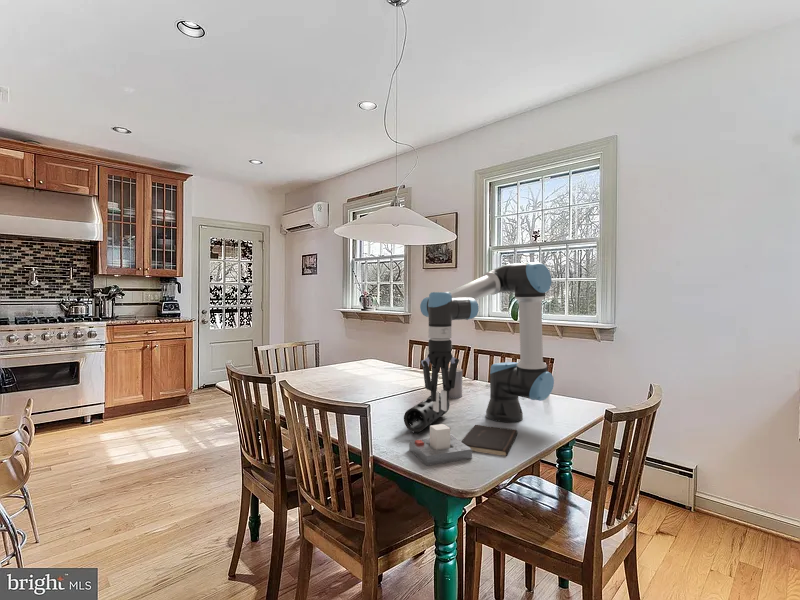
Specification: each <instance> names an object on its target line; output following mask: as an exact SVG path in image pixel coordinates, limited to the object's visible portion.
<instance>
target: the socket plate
mask: <svg viewBox="0 0 800 600" xmlns="http://www.w3.org/2000/svg"><path fill="white" fill-rule="evenodd" d="M461 441H462V440H461ZM461 441H460V440H459V439H458V438H456V437H455V436H453V435H451V434H450V448H446V449H440V450H434V449H433V448H432V447H430V437H429V438H424V439H423V438H422V439H415V440H409V442H408V447H409V448H408V450H409V451H410V453H412V454H413V455H414V456H415V457H416V458H417V459H419V461H421V462H422V464H424V465H425V466H426V467H427V466H428V467H429V466H434V465H440V464H447V463H451V462H459V461H463V460H464V461H465V460H469V459H473V451H472V449H471V448H470V447H468V446H467V445H465V444H464V443H462V442H461Z"/></svg>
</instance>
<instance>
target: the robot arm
mask: <svg viewBox="0 0 800 600" xmlns="http://www.w3.org/2000/svg"><path fill="white" fill-rule="evenodd" d="M551 275H552V274H551V271H550V270H549V268H548V267H547V266H546V265H545V264H544V263H541V262H533V261H530V262H522V263H521V262H520V263H518V262H517V263H508V264H503V265H501V266H499V267H496V268H494V269H491V270H489V271H486V272H484V273H483V274H482V276H481V277H478V278H476V279H475V280H472V281H469V282H467V283H465V284H462V285H460V286H458V287H455V288H452V289H451V290H448V291H440V292H439V291H432V292H430V293H429V294H428V296H427V297H426V296H425V297H423V299H422V300H421V302H420V304H419V308H420V309H419V310H420V312H421V315H423V316H424V317H427V318H428V338H429V340H428V353H427V357H426V358H424V359H421V360H420V361H419V363H420V365H421V367H422V373H423V379H424V388H425V389H426V390H427V391H430V396H431V401H433V410H434V411H436V412H439V393H441V409H442V410H443V411H447V400H449V401H450V398H449V391H450V390H451V388H454V386H455V378H456V369H457V368H458V364H459V362H460V360H459V358H456V357H454V356H453V354H452V339H451V338H452V325H453V324H452V322H453V321H457V320H458V321H460V320H461V321H462V320H464V321H465V320H466V321H468V320H472V319H474V318H476V317H477V315H478V314H479V309H480V307H479V304H478V301H477V300H480V299H482V298H485V297H486V296H489V295H492V296H494V295H497V294H500V293H514V298H515V299H516V300H517V301H518V318H519V320H518V321H519V326H518V327H519V357H520V361H519V362H513V361H509V362H508V361H507V362H497V363H493V364H491V366H490V373H489V380H490V381H489V383H490V386H489V387H490V388H489V389H490V391H489V393H490V394H489V395H490V397H489V401H488V405H487V407H486V411H485V417H486V418H487V419H489V420H491V421H494V422H495V421H496V422H502V423H515V422H519V421H522V420H523V417H524V415H523V414H524V413H523V410H522V406H521V403H520V401H519V398H520V397H521V398H525V399H529V400H531V401H539V402H540V401H541V402H543V401H545V400H546V399H547V398H549V397H550V395H551V393H552V392H553V389H554V386H555V385H554V384H555V379H554V378H555V377H554V376H553V373H552V372H549V371H548V364H547V363H546V362H544V356H543V355H544V354H543V352H544V351H543V319H542V318H543V317H542V315H543V311H542V308H543V307H542V301H543V300H544V299H545V298H546V293H547V292H549V290H550V289H551V287H552V276H551ZM430 364H431V369H430ZM449 364H450V365H449ZM448 368H450V371H449V377H448ZM440 370H441V379H442V380H441V381H442V388H443V389H444V390H443V389H440V391H438V382H439V381H438V379H439V372H440ZM447 412H448V411H447Z"/></svg>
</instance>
